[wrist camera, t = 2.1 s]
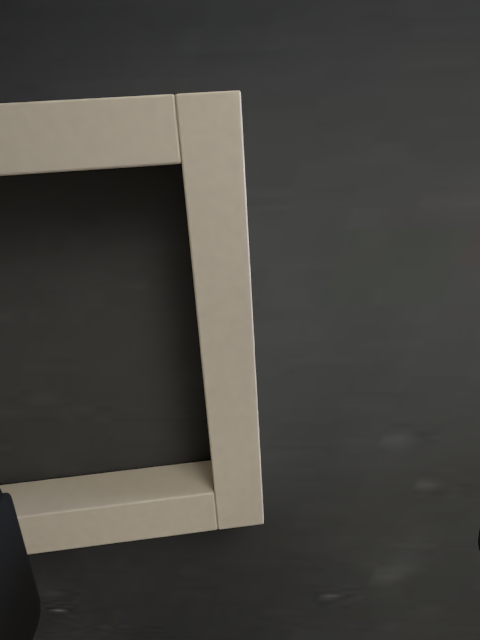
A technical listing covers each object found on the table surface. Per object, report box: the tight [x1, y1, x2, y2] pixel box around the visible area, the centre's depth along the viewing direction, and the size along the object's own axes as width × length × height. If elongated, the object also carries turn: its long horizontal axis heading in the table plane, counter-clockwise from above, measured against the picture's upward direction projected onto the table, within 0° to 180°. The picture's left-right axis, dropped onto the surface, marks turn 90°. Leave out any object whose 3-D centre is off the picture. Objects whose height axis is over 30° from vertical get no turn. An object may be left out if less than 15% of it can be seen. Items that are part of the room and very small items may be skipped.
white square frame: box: [0, 90, 264, 555], centre depth 15 cm, size 15×15×2 cm
